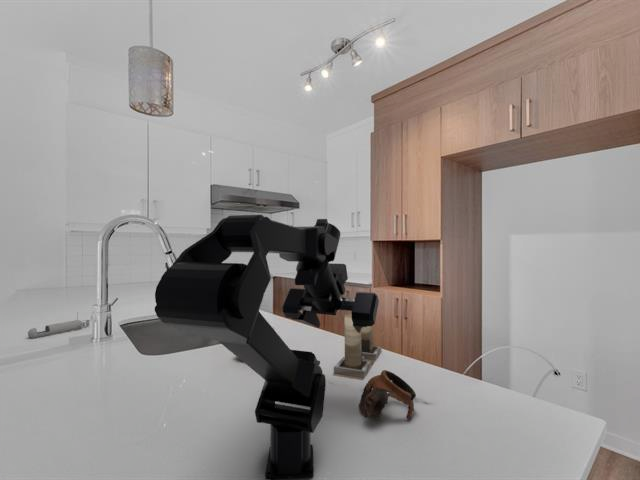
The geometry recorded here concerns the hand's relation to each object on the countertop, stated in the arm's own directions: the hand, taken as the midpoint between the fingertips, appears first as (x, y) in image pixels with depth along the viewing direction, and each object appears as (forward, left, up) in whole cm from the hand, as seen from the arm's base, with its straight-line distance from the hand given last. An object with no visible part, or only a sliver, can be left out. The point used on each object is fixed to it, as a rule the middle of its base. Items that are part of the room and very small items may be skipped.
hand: (338, 328), depth 68 cm
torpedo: (+49, +94, -14) cm, 107 cm away
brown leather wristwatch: (-9, -7, -14) cm, 18 cm away
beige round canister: (+8, -4, -12) cm, 15 cm away
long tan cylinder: (+19, -9, -12) cm, 24 cm away
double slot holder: (+14, -7, -13) cm, 20 cm away
